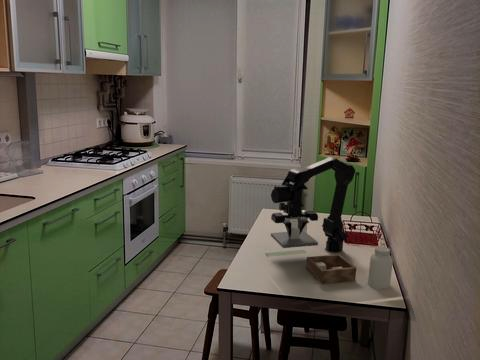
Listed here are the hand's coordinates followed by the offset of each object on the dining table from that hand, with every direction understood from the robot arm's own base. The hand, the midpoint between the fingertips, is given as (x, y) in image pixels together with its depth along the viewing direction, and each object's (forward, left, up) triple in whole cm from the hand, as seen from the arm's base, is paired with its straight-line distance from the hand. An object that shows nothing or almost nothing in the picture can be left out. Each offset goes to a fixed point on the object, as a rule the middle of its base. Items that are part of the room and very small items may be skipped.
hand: (293, 236), depth 195 cm
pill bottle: (-22, +31, -11) cm, 39 cm away
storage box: (-8, +19, -10) cm, 23 cm away
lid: (0, 0, -2) cm, 2 cm away
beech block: (-10, +21, -10) cm, 25 cm away
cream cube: (-5, +16, -10) cm, 19 cm away
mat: (0, 0, -10) cm, 10 cm away
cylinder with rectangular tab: (-15, -31, -11) cm, 36 cm away
